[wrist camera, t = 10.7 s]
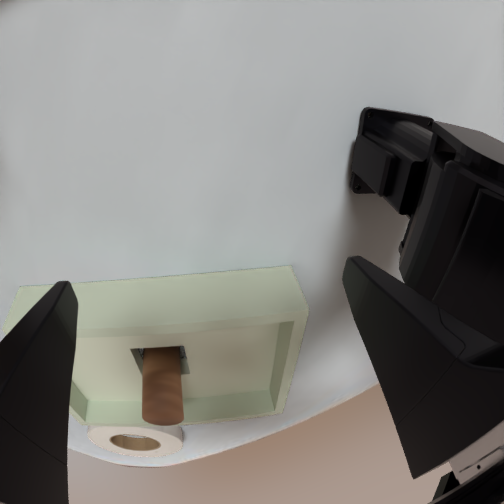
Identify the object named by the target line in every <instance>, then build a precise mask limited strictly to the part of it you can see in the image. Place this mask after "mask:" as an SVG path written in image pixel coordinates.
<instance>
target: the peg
mask: <svg viewBox="0 0 504 504" xmlns="http://www.w3.org/2000/svg"><path fill="white" fill-rule="evenodd" d="M142 418H143V420H144V421H146V422H148V423H150V424H153V425H159V426H171V425H176V424H179V423H181V422H182V421H183V420H184V411H183V398H182V383H181V366H180V346H169V347H154V348H143V374H142Z"/></svg>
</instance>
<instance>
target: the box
mask: <svg viewBox="0 0 504 504" xmlns="http://www.w3.org/2000/svg"><path fill="white" fill-rule="evenodd" d="M54 285H55V284H54ZM54 285H39V286H22V287H20V288H19V290H18V292H17V294H16V297H15V299H14V301H13V304H12V306H11V308H10V311H9V313H8V315H7V318H6V320H5V323H4V325H3V328H2V330H3V331H4V333H5V334H6V335H7V334H8V333H9V332H10V331H11V329H12V328H13V327H14V326H15V325H16V324H17V323H18V322H19V321H20V320H21V319H22V317H23V316H24V315H25V314H26V313H27V312H28V311H29V310H30V309H31V308H32V307H33V306H34V305H35V304H36V303H37V302H38V301H39V300H40V299H41V298H42V297H43V296H44V295H45V294H46V293H47V292H48V291H49V290H50V289H51V288H52V287H53V286H54ZM71 285H72V288H73V290H74V292H75V295H76V297H77V299H78V319H77V337H76V351H75V358H74V366H73V374H72V383H71V393H70V405H69V413H70V414H71V415H72V416H73V417H74V418H75V419H76V420H77V421H78V422H79V423H80V424H81V425H89V426H115V427H151V426H159V425H153V424H150V423H148V422H146V421H144V420H143V418H142V374H143V360H142V358H141V355H140V353H139V350H138V348H154V347H169V346H183V345H184V348H185V353H186V357H187V358H185V359H180V366H181V383H182V398H183V411H184V420H183V421H182V422H181V423H179V424H176V425H171V426H177V425H193V424H205V423H216V422H225V421H234V420H242V419H249V418H256V417H263V416H269V415H275V414H281V413H283V410H284V406H285V403H286V399H287V396H288V392H289V388H290V385H291V381H292V377H293V374H294V370H295V366H296V362H297V358H298V355H299V351H300V347H301V343H302V339H303V335H304V330H305V326H306V322H307V318H308V314H309V307H308V305H307V302H306V300H305V298H304V295H303V293H302V290H301V288H300V286H299V283H298V281H297V279H296V276H295V274H294V271H293V269H292V267H291V265H289V266H279V267H268V268H257V269H246V270H235V271H224V272H213V273H201V274H189V275H177V276H165V277H152V278H139V279H126V280H112V281H99V282H84V283H71Z"/></svg>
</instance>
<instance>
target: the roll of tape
mask: <svg viewBox="0 0 504 504" xmlns="http://www.w3.org/2000/svg"><path fill="white" fill-rule="evenodd" d="M123 435H137V436H143V437H147V438H131V437H126V436H123ZM88 438H89V439H90V441H91V442H93V443H94V444H95V445H97V446H99V447H101V448H103V449H105V450H108V451H111V452H114V453H118V454H122V455H128V456H136V457H159V456H166V455H170V454H173V453H175V452H177V451H179V450H181V449H182V447H183V437H182V429H181V428H180V426H179V425H177V426H151V427H115V426H89V425H88Z"/></svg>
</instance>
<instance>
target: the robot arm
mask: <svg viewBox="0 0 504 504" xmlns="http://www.w3.org/2000/svg"><path fill="white" fill-rule="evenodd" d="M369 112H371V116H370V117H368V113H369ZM428 122H429V125H428ZM352 170H353V171H352V177H351V182H350V189H351V190H352V191H353V192H354V193H357V194H367V193H377V194H378V195H379V196H380V197H383V198H384V199H385V200H386V201H387V202H388V203H389V204H390V205H391V206H392V207H393V208H394V209H395V210H396V211H397V212H398V213H399V214H401V215H406V216H407V217H408V218H409V219H410V221H409V224H408V227H407V230H406V233H405V236H404V239H403V241H401V243H400V246H399V252H400V255H401V256H400V260H399V270H400V273H401V275H402V278H403V281H404V282H405V283H402V282H401V281H399V280H398V279H396V278H395V277H393V276H391V275H390V274H388V273H387V272H385V271H383V270H382V269H380V268H379V267H377V266H375V265H374V264H372V263H371V262H369V261H367V260H366V259H364V258H362V257H361V256H352V257H349V258H348V259H347V261H346V265H345V268H344V272H343V276H342V280H343V285H344V288H345V291H346V294H347V298H348V301H349V304H350V307H351V311H352V314H353V317H354V320H355V323H356V325H357V328H358V330H359V333H360V335H361V337H362V340H363V342H364V345H365V347H366V350H367V352H368V355H369V357H370V360H371V362H372V365H373V367H374V370H375V372H376V375H377V378H378V380H379V383H380V385H381V388H382V391H383V393H384V396H385V399H386V401H387V404H388V407H389V410H390V412H391V415H392V418H393V420H394V424H395V426H396V430H397V433H398V435H399V438H400V441H401V444H402V447H403V450H404V453H405V456H406V459H407V462H408V465H409V469H410V472H411V475H412V477H413V479H416V478H418V477H420V476H422V475H424V474H426V473H428V472H430V471H432V470H434V469H436V468H438V467H440V466H441V465H443V464H445V463H447V462H449V463H450V465H451V467H452V470H453V471H451V472H450V473H448V474H446V475H444V476H443V477H441V480H440V482H439V485H438V487H437V490H436V492H435V495H434V497H433V500H432V502H430V503H428V504H504V143H503V142H501V141H499V140H497V139H495V138H493V137H491V136H489V135H487V134H485V133H483V132H480V131H476V130H472V129H468V128H464V127H460V126H456V125H452V124H447V123H443V122H438V121H434V120H433V119H432V118H430V117H426V116H421V115H416V114H411V113H405V112H399V111H393V110H387V109H380V108H373V107H366V108H364V109H363V111H362V115H361V122H360V129H359V135H358V136H357V138H356V144H355V150H354V156H353V162H352ZM358 184H359V186H358V187H357V188H355V187H356V185H358ZM77 319H78V299H77V297H76V295H75V292H74V290H73V288H72V285H71V283H70V282H69V281H59V282H57V283H56V284H55V285H54V286H53V287H52V288H51V289H50V290H49V291H48V292H47V293H46V294H45V295H44V296H43V297H42V298H41V299H40V300H39V301H38V302H37V303H36V304H35V305H34V306H33V307H32V308H31V309H30V310H29V311H28V312H27V313H26V314H25V315H24V316H23V317H22V319H21V320H20V321H19V322H18V323H17V324H16V325H15V326H14V327H13V328H12V329H11V331H10V332H9V333H8V334H7V335H6V336H5V337H4V338H3V340H2V341H1V342H0V504H69V500H68V475H67V474H68V472H67V444H68V420H69V405H70V393H71V383H72V374H73V366H74V358H75V351H76V337H77Z"/></svg>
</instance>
